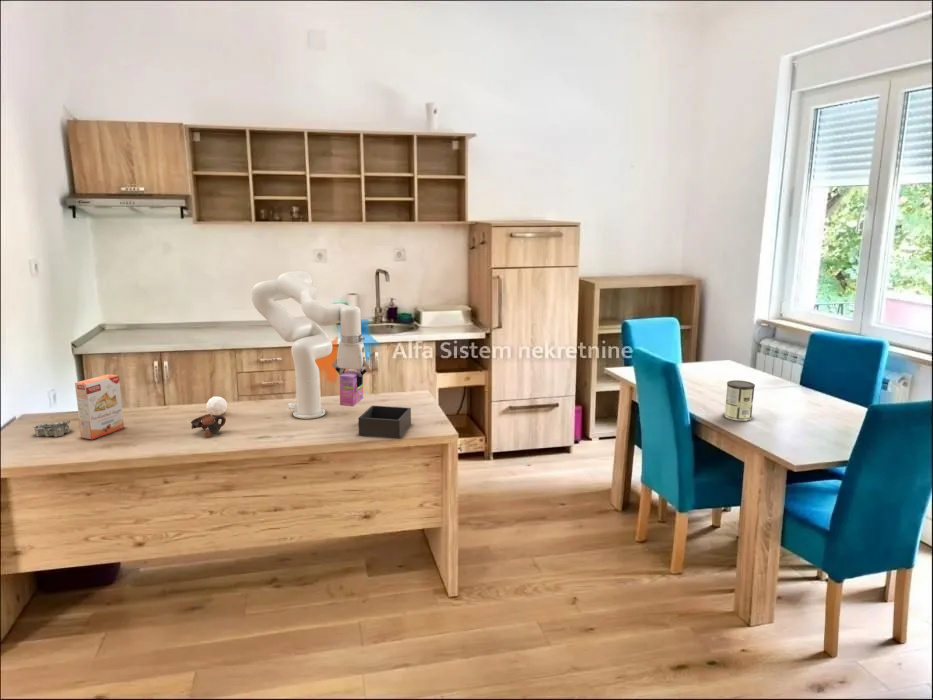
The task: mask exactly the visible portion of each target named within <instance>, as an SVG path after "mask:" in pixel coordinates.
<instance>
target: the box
mask: <svg viewBox="0 0 933 700" xmlns="http://www.w3.org/2000/svg"><path fill="white" fill-rule="evenodd" d="M357 377H358V373H357V370H356V369H347V370H345V372H344V373H343V374H341V375H339V406H343V407H344V406H345V407H354V406H356V405H357V404H358V403H359V402H361V401H362V400H363V399H364V383H363V384H362V385H361V386H360V387H358V386H357Z"/></svg>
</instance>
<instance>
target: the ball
mask: <svg viewBox="0 0 933 700" xmlns="http://www.w3.org/2000/svg"><path fill="white" fill-rule="evenodd" d="M205 404H206V405H205V406H206V408H205V409H206V411H207V412H208V414H211V416H219V415H223V414H224V413H225V412H226V410H227V409H228V402H227V401H226V399H225V398H223V397H221V396H212V397H211V398H209V399H208V401H207V402H206V403H205Z"/></svg>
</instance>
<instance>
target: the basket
mask: <svg viewBox="0 0 933 700" xmlns="http://www.w3.org/2000/svg"><path fill="white" fill-rule="evenodd" d="M357 419H358V421H357V422H358V436H359V437H361V436H362V437H375V438H390V439H401V437H403V435H404V434H405V432H406V431H408V429H409V428H410V426H411V425H412V408H411V407H403V406H388V405H387V406H385V405H370V407H369V408H368V409H366V410H365V411H364V412H363V413H362V414H361V415H360V416H359V417H358V418H357Z"/></svg>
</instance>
